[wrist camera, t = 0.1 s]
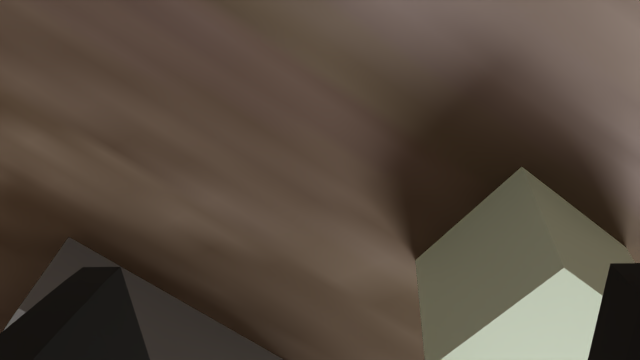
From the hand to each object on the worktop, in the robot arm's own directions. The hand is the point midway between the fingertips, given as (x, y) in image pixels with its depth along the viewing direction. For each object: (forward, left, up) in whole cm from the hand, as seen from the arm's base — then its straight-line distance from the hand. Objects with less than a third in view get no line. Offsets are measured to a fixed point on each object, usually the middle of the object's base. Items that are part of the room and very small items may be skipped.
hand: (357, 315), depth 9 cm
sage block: (-7, -5, -10) cm, 13 cm away
